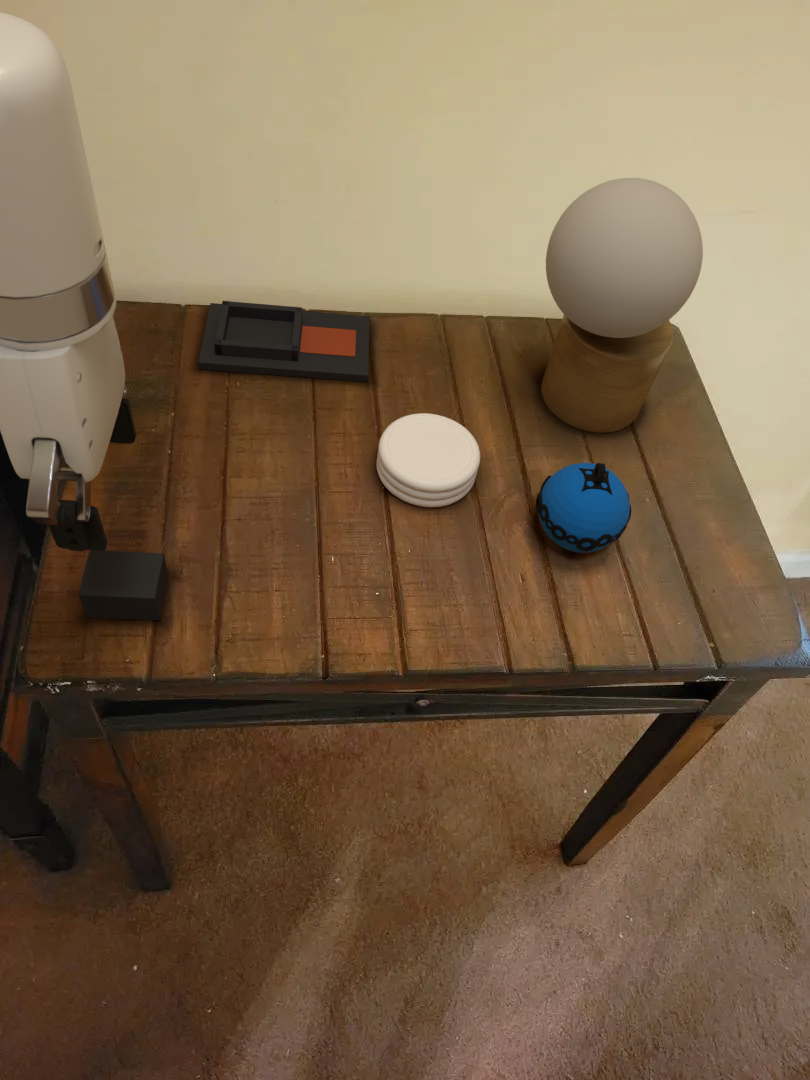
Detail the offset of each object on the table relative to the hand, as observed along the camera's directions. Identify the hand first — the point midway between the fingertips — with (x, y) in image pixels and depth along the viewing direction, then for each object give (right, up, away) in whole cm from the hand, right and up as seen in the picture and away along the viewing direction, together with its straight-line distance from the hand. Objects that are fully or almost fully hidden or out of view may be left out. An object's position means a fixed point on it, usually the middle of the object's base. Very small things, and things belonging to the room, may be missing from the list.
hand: (99, 490), depth 57 cm
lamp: (+40, +12, +34) cm, 54 cm away
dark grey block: (-2, -8, +12) cm, 15 cm away
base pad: (+8, +18, +34) cm, 39 cm away
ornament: (+37, -3, +22) cm, 44 cm away
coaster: (+23, +3, +25) cm, 34 cm away
